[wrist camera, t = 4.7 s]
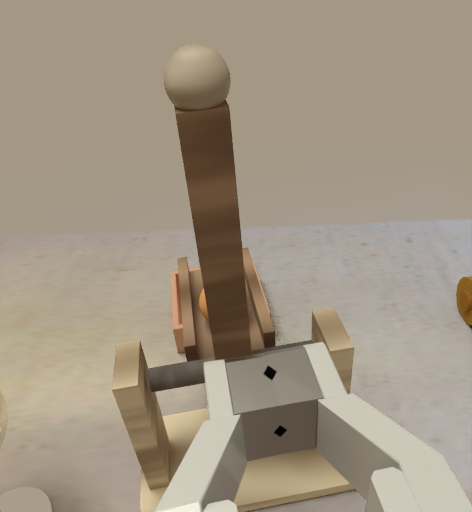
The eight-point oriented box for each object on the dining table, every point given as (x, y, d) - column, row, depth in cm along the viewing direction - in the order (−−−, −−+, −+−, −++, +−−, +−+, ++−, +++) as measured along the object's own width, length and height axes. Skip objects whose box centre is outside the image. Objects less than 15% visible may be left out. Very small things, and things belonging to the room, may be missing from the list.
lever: (320, 377, 30) (333, 33, 18) (153, 407, 30) (49, 67, 17) (276, 266, 41) (266, 6, 29) (154, 285, 41) (91, 26, 28)
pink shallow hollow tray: (271, 337, 48) (270, 313, 46) (178, 353, 47) (173, 329, 45) (254, 281, 56) (252, 258, 54) (174, 294, 55) (170, 271, 53)
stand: (363, 487, 34) (380, 375, 26) (142, 532, 32) (96, 426, 25) (326, 393, 41) (331, 284, 34) (145, 426, 40) (109, 321, 33)
